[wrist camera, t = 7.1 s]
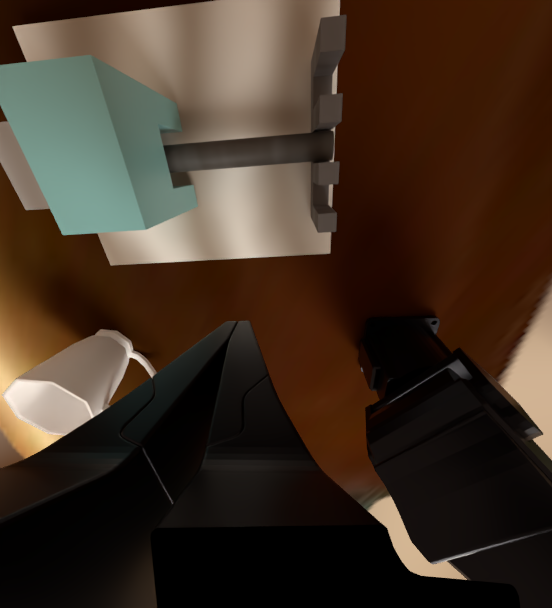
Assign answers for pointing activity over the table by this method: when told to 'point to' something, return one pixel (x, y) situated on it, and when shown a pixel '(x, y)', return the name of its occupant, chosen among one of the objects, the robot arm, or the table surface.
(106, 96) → the teal block
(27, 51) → the cord board
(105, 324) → the table surface
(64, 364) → the cup
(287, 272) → the table surface
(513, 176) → the table surface
